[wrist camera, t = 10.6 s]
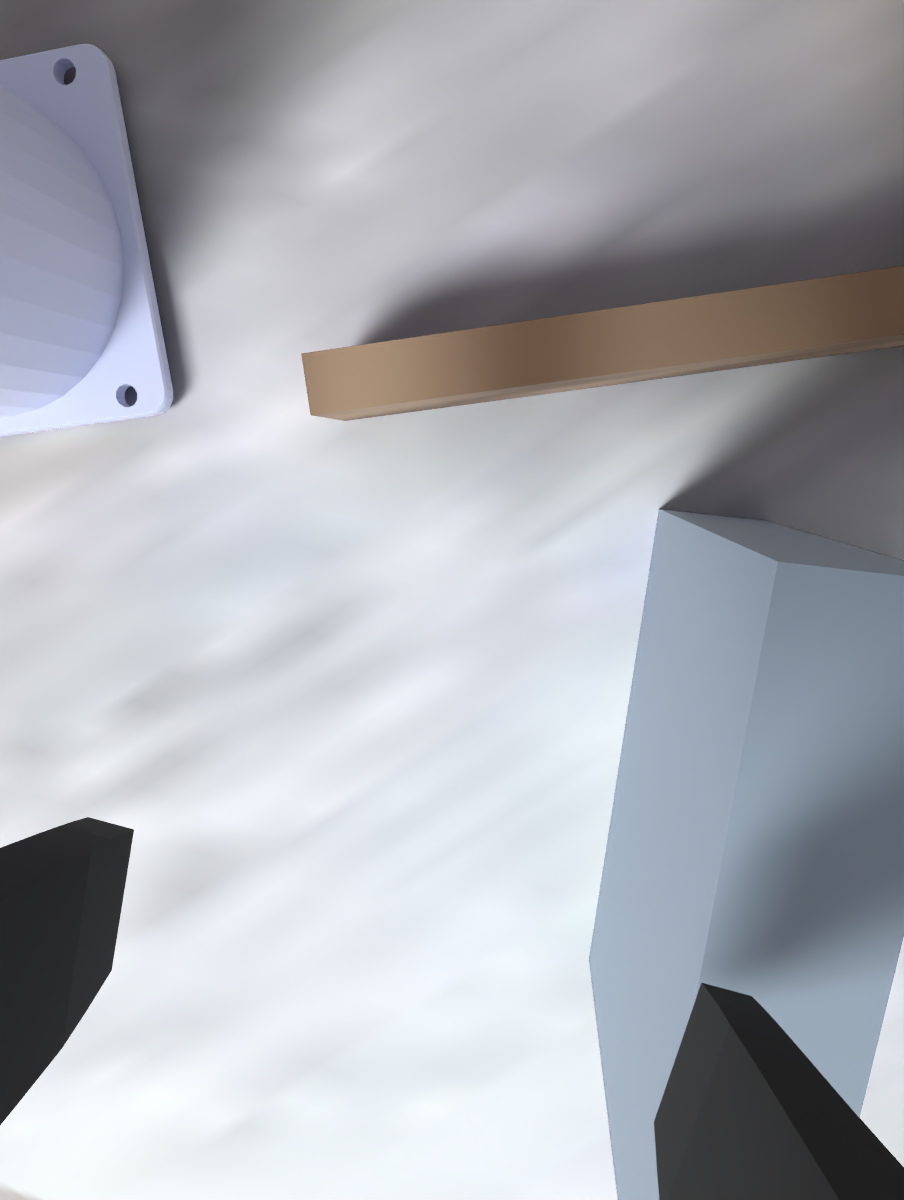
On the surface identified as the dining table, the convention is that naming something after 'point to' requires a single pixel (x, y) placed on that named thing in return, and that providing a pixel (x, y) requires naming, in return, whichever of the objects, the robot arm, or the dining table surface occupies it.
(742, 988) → the blue grey rectangular slab
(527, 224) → the dining table surface
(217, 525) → the dining table surface
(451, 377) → the rack
